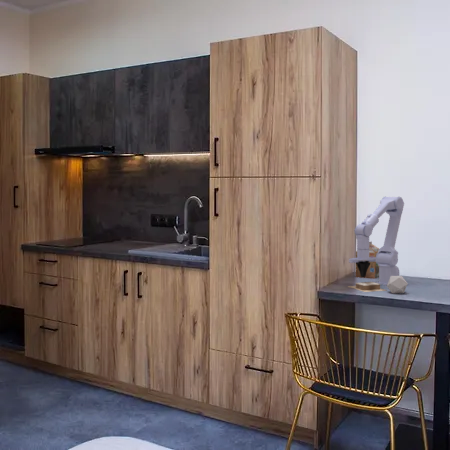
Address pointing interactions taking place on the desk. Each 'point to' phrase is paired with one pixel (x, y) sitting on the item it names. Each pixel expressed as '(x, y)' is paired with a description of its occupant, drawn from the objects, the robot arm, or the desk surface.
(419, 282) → the desk surface
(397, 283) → the die
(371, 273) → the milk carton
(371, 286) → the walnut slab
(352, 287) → the light wood board
